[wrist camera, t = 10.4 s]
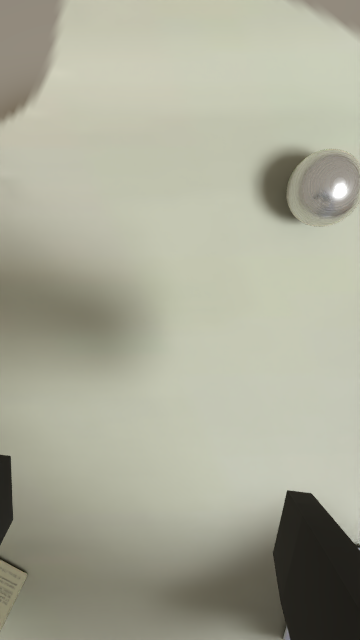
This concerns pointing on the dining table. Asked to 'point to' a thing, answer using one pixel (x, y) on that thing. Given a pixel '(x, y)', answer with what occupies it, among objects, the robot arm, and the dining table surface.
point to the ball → (324, 187)
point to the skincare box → (9, 588)
